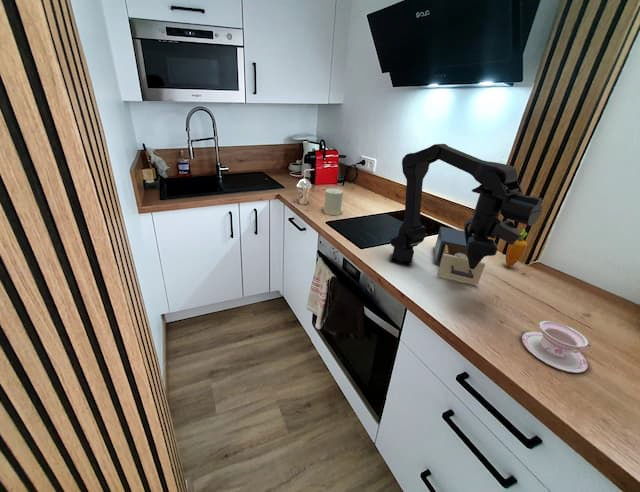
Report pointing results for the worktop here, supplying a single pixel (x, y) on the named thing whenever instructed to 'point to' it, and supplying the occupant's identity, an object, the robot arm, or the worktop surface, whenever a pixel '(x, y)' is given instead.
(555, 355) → the teacup
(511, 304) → the worktop surface
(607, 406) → the worktop surface
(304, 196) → the cup with straw
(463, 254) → the salt shaker
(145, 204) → the worktop surface
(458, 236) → the cabinet
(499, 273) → the worktop surface
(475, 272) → the drawer
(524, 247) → the carrot
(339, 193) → the can
